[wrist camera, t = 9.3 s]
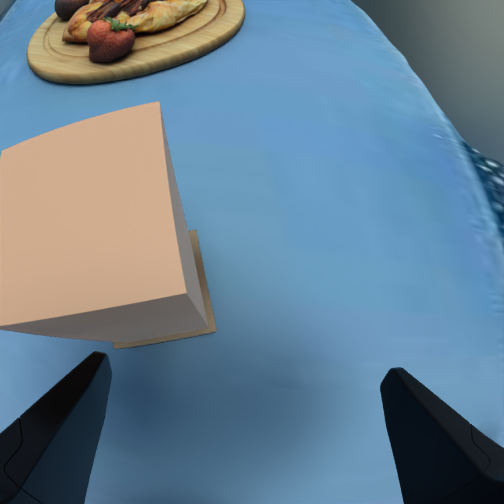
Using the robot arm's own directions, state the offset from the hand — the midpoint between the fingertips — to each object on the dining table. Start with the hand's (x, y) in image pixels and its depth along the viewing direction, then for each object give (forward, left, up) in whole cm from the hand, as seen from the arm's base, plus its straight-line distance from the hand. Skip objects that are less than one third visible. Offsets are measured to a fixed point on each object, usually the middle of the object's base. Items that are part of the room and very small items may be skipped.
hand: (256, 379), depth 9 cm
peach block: (+2, +5, -9) cm, 11 cm away
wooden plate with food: (+36, +26, -14) cm, 46 cm away
